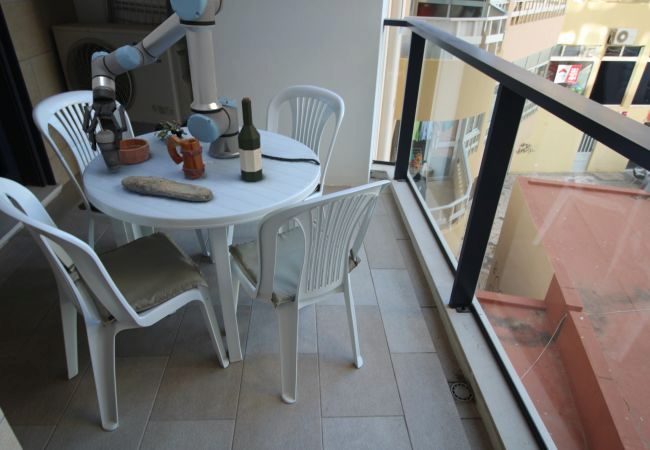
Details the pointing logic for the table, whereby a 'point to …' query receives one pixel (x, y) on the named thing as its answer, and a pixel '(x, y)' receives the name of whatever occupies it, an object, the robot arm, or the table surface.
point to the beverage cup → (108, 148)
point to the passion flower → (172, 128)
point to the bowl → (133, 151)
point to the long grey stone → (166, 188)
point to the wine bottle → (249, 146)
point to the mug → (187, 155)
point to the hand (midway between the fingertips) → (106, 149)
